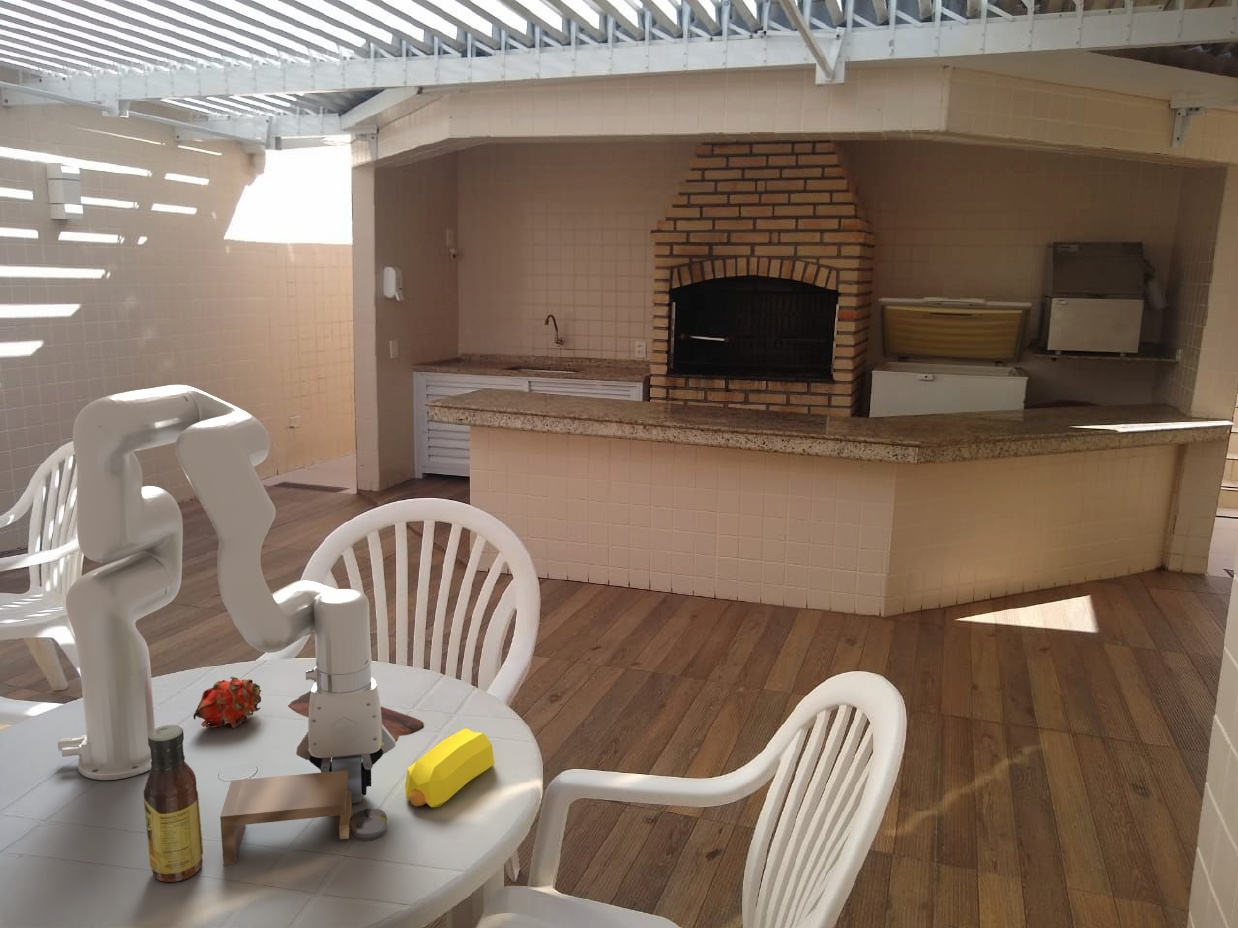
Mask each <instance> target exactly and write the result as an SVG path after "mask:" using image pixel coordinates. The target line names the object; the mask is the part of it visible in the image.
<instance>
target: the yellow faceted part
mask: <svg viewBox="0 0 1238 928" xmlns="http://www.w3.org/2000/svg"><path fill="white" fill-rule="evenodd" d="M493 750H494V749H493V745H492V743H491V740H490V739H489V737H487V736H486V734H485V733H484V732H479V731H478V732H476V731H472V730H471V729H469V728H467V727H465V728H463V729H461V730H459V731H457V732H455V733H454V734H452V735H451V736H448V737H447V738H445V739H443V740H441V741H440V742H439V743H438V744H436V745H435V746H433V748H431V749H430V750H428V752H426V753H425V754H424V755H422V756H421V757H420V758H419V759H417V761H415V762H414V763H412V764H411V765H410V766H408V767H407V770H406V771H407V772H406V780H405V799H407V800H409V801H410V803H411V804H412V805H413V807H421V806H425V804H427V805H428V806H429V807H430V808H439V807H441V806H442V805H443V804H444V803H446V802H447V801H448V800H450V799H451V798H452V797H453V796H454V795H455V794H456V793H458V791H459V790H461V789H462V788H463V787H464V786H465V785H466V784H467V783H469V782H471V781H472V780H474V779H475V778H477V777H479V776H481V775H482V774H483V773H484V772H486V771H487V770H489V769H490V768H491V767H492V766H494V765H495V758H494V757H495V755H494V752H493Z"/></svg>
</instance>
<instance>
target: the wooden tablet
mask: <svg viewBox="0 0 1238 928" xmlns="http://www.w3.org/2000/svg"><path fill="white" fill-rule="evenodd" d="M310 695H311V690H309V691H308V692H305V693H304V694H302V695H300V696H298V698H296V699H294V700H292V701H291V702H290V703H288V705H287V707H288V708H289V709H290V710H292V711H293V712H294V713H296V714H298V715H300V716H303V717H306V718H307V719H309V701H310ZM380 707H381V718H382V724H383V725H384V727H385V728H386V729H387V730H388V732H389V733H390V734H391V735H392V737H393V738H394V739H395V742H396V741H398V740H399V738H400V737H401V736H403V737H404V736H407V735H410V734H414V733H415V732H418V731H419V730H420V729H422V728H423V727H424V721H422V720H420V719H418V718H415V717H412V716H410V715H408V714H405V713H401V712H399V711H396V710H393V709H390V708H386V707H384V706H381V705H380ZM382 742H383V741H382Z"/></svg>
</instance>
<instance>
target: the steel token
mask: <svg viewBox="0 0 1238 928" xmlns="http://www.w3.org/2000/svg"><path fill="white" fill-rule="evenodd" d="M387 825H388V819H387V814H386V812H385V811H383V810H381V809H379V808H378V809H377V808H365V809H361V810H358V811H356V812H354V813H353V814H351V818H350V831H349V836H350V837H351V838H352V839H354V840H356V841H359V842H372V841H375V840H377V839H380V838H382V837H383V836H384V835H385V834H386V832H387V831H388V826H387Z"/></svg>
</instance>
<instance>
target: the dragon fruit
mask: <svg viewBox="0 0 1238 928" xmlns="http://www.w3.org/2000/svg"><path fill="white" fill-rule="evenodd" d="M229 679H231V680H229V681H228V680H226V679H222V680H219V681H216V682H215V683H214V684H213V685H212V687H211V688H208V689H205V690H204V691H203V693H202V695H201V698H200V702H199V703H198V705H197V707H196V709H195V712H194V713H193V720H194V721H195V720H196V717H197V718H198V719H203V720H204V721H202V722H201V723H200V724H201V727H203V728H204V727H205V728H211V729H212V728H219V727H222V726H226V725H227V724H231V728H232V729H235V728H236V727H237V726H239V725H240V724H241V723H242V722H245V721H246V720H247V719H248V718H249V717H251V716H253V715H254V713H255V712H258V711H259V710H260V709H261V707H260V706H259V707H258V705H259V704H260V703H261V702H262V697H261V692H262V689H261V685H259V684H258V683H254V682H253V680H252V679H243V678H242V679H241V680H240V679H239V678H238V677H236V676H235V677H234V676H230V677H229Z"/></svg>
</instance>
